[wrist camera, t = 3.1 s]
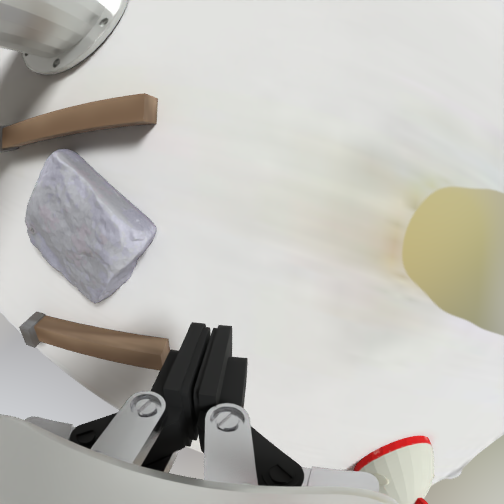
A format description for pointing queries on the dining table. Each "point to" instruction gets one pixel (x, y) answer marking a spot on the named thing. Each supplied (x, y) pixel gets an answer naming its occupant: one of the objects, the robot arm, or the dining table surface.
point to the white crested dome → (402, 469)
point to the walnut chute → (61, 331)
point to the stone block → (85, 226)
